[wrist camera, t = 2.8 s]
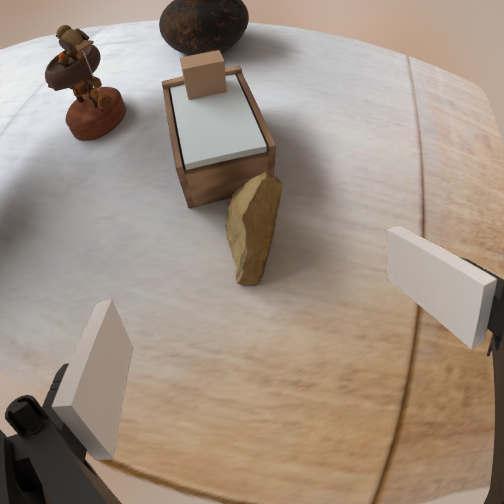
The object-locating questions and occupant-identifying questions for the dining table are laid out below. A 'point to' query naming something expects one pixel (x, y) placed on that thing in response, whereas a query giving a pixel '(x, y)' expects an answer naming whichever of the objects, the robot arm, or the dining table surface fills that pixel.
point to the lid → (213, 113)
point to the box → (226, 172)
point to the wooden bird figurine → (84, 86)
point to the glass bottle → (203, 25)
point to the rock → (253, 225)
